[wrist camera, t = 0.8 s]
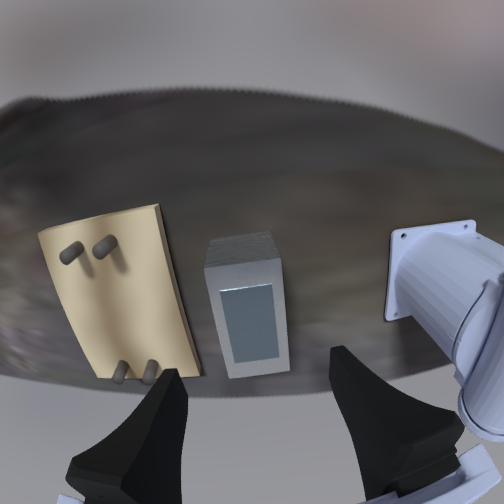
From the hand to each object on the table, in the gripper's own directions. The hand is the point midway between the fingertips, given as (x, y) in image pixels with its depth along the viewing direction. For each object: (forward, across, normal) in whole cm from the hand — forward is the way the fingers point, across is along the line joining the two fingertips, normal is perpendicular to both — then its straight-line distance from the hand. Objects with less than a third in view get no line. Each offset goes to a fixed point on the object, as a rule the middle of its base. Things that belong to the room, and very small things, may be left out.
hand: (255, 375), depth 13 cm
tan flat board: (+9, +10, 0) cm, 13 cm away
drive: (+9, 0, 0) cm, 9 cm away
